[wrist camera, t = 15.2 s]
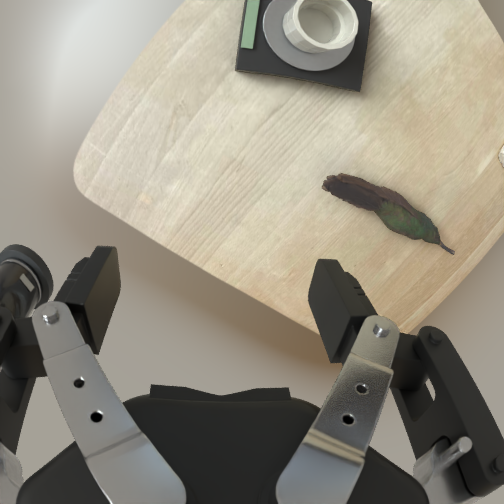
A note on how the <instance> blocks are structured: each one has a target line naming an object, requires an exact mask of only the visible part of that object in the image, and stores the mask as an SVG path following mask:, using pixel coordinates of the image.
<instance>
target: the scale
mask: <svg viewBox="0 0 504 504" xmlns="http://www.w3.org/2000/svg"><path fill="white" fill-rule="evenodd" d="M347 1H348V2H349V3H350V5H351V6H352V7H353V9H354V10H355V12H356V15H357V19H358V31H357V34H356V36H355V41H354V45H353V48H352V50H351V52H350V54H349V55H348V56H347V58H346V59H345V60H344V61H342V62H341V63H340V64H338V65H336V66H335V67H332V68H330V69H326V70H320V71H306V70H301V69H297V68H294V67H292V66H290V65H288V64H286V63H284V62H283V61H281V60H280V59H279V58H278V57H277V56H276V55H275V54H274V53H273V52H272V51H271V50H270V48H269V47H268V45H267V43H266V41H265V38H264V35H263V30H262V20H263V16H264V13H265V11H266V9H267V7H268V5H269V4H270V3H271V2H272V0H245V2H244V9H243V16H242V22H241V29H240V36H239V43H238V51H237V58H236V66H235V71H242V72H251V73H260V74H267V75H274V76H281V77H287V78H293V79H299V80H304V81H309V82H314V83H319V84H324V85H329V86H333V87H337V88H342V89H346V90H350V91H357V92H360V89H361V83H362V76H363V70H364V63H365V56H366V49H367V42H368V34H369V26H370V17H371V8H372V2H371V1H368V0H347Z"/></svg>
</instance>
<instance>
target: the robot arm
mask: <svg viewBox="0 0 504 504" xmlns="http://www.w3.org/2000/svg"><path fill="white" fill-rule="evenodd" d="M120 287H121V281H120V272H119V264H118V255H117V249H116V248H115V247H112V246H111V247H110V246H97V247H96V248H95V250H94V252H93V253H92V255H91V256H90V258H87V257H85V258H83V259H82V260H81V261H79V262H78V263H76V265H75V266H74V268H73V269H72V271H71V274H69V276H68V277H67V280H66V281H65V282H64V284H63V286H62V287H61V289H60V291H59V292H58V294H57V296H56V297H55V299H54V301H51V302H47V303H44V304H42V305H40V306H39V307H38V308H37V309H36V310H35V311H34V313H33V315H32V317H29V316H30V315H31V313H32V311H33V310H34V308H35V306H36V305H37V304H38V302H39V301H40V299H41V297H42V294H43V287H42V283H41V280H40V278H39V276H38V275H37V273H36V272H35V270H34V269H33V268H32V267H31V266H30V265H29V264H27V263H26V262H25V261H23V260H21V259H19V258H15V257H9V258H6V259H5V260H3V262H2V263H1V264H0V371H1V372H0V504H472V503H474V502H476V501H478V500H480V499H481V498H483V497H485V496H486V495H488V494H490V493H491V492H493V491H494V490H496V489H497V488H499V487H500V486H502V485H504V439H503V437H502V435H501V433H500V430H499V428H498V426H497V424H496V422H495V420H494V418H493V416H492V414H491V412H490V410H489V408H488V406H487V404H486V402H485V400H484V398H483V397H482V395H481V393H480V391H479V389H478V387H477V386H476V384H475V382H474V380H473V378H472V377H471V375H470V373H469V371H468V370H467V368H466V366H465V365H464V363H463V361H462V359H461V358H460V356H459V354H458V353H457V351H456V349H455V348H454V346H453V345H452V343H451V341H450V340H449V338H448V337H447V335H446V334H445V333H444V332H443V331H441V330H440V329H438V328H436V327H432V326H424V327H422V328H421V329H420V331H419V333H418V334H417V336H415V335H410V334H405V333H400V331H399V328H398V327H397V325H396V324H395V323H394V322H393V321H391V320H390V319H388V318H386V317H383V316H378V314H377V312H376V311H375V309H374V307H373V306H372V304H371V302H370V301H369V299H368V297H367V296H365V292H364V291H363V289H361V286H360V284H359V282H358V281H357V279H356V278H354V277H353V276H352V275H351V274H350V273H348V272H344V270H343V269H342V267H341V265H340V264H339V262H338V261H337V260H334V259H318V261H317V263H316V266H315V270H314V273H313V277H312V281H311V284H310V288H309V294H308V301H309V305H310V308H311V311H312V313H313V316H314V319H315V321H316V324H317V327H318V330H319V332H320V335H321V337H322V340H323V343H324V346H325V349H326V351H327V354H328V357H329V360H330V362H331V363H342V365H343V367H342V369H341V372H340V374H339V376H338V378H337V379H336V381H335V384H334V385H333V387H332V389H331V391H330V393H329V395H328V397H327V398H326V400H325V402H324V404H323V406H322V408H319V407H317V406H316V405H313V404H311V403H309V402H307V401H304V400H301V399H297V398H292V397H291V396H290V392H289V388H256V389H251V390H247V391H242V392H238V393H233V394H228V395H222V396H221V395H215V394H210V393H206V392H202V391H198V390H194V389H191V388H187V387H177V386H164V385H152V384H151V388H150V394H147V395H142V396H138V397H135V398H132V399H129V400H127V401H125V402H123V403H122V402H121V400H120V399H119V397H118V396H117V394H116V392H115V391H114V389H113V387H112V386H111V384H110V383H109V381H108V379H107V377H106V375H105V374H104V372H103V370H102V369H101V367H100V365H99V363H98V361H97V359H96V358H95V356H94V354H97V355H99V352H100V349H101V345H102V342H103V339H104V336H105V333H106V330H107V328H108V325H109V322H110V319H111V316H112V313H113V311H114V308H115V305H116V302H117V300H118V297H119V294H120ZM45 376H48V378H49V381H50V384H51V386H52V389H53V391H54V394H55V396H56V399H57V401H58V404H59V406H60V408H61V411H62V413H63V415H64V418H65V420H66V422H67V424H68V426H69V428H70V430H71V432H72V435H73V437H74V439H75V441H74V442H73V443H72V444H71V445H69V446H68V447H67V448H66V449H64V450H63V451H62V452H61V453H59V454H58V455H57V456H56V457H54V458H53V459H52V460H51V461H49V462H48V463H47V464H46V465H44V466H43V467H42V468H41V469H39V470H38V471H37V472H36V473H34V474H33V475H32V476H31V477H29V478H28V479H27V480H26V481H25V482H24V483H23V477H22V467H21V464H20V461H19V460H18V458H17V457H16V456H15V455H16V450H17V445H18V441H19V437H20V432H21V429H22V425H23V421H24V417H25V414H26V410H27V406H28V403H29V400H30V396H31V393H32V390H33V387H34V384H35V381H36V377H45ZM428 378H429V379H430V381H431V383H432V385H433V387H434V390H435V400H434V401H433V399H432V397H431V395H430V392H429V390H428V388H427V386H426V384H425V382H426V381H427V379H428ZM389 387H390V389H391V391H392V394H393V396H394V399H395V402H396V404H397V407H398V410H399V412H400V415H401V418H402V420H403V423H404V426H405V429H406V432H407V434H408V437H409V440H410V443H411V446H412V449H413V452H414V455H415V458H416V463H415V465H414V469H413V473H414V475H413V476H411V475H409V474H408V473H407V472H405V471H404V470H402V469H401V468H399V467H398V466H397V465H395V464H394V463H392V462H391V461H389V460H388V459H387V458H385V457H384V456H383V455H381V454H380V453H378V452H377V451H376V450H374V449H373V448H372V447H370V446H369V443H370V441H371V438H372V436H373V433H374V430H375V428H376V425H377V422H378V420H379V417H380V414H381V411H382V408H383V405H384V402H385V399H386V396H387V393H388V390H389Z"/></svg>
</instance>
